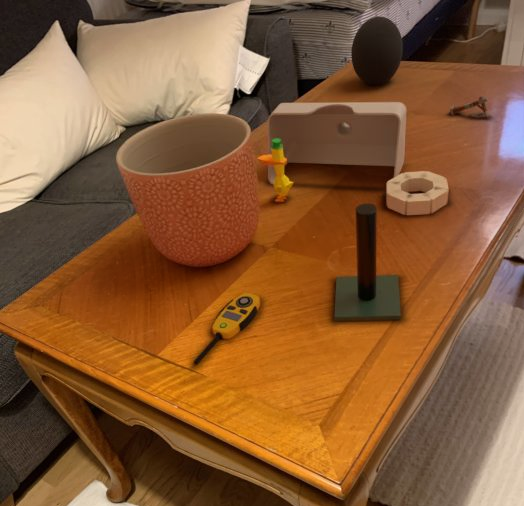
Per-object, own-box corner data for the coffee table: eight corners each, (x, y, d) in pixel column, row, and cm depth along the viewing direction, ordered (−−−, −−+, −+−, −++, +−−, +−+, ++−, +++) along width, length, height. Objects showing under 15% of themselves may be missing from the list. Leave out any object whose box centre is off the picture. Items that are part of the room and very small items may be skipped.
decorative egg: (405, 74, 134) (408, 7, 124) (396, 93, 127) (398, 23, 116) (358, 76, 139) (357, 11, 128) (346, 94, 131) (344, 27, 120)
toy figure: (260, 204, 99) (250, 143, 91) (268, 194, 101) (259, 134, 93) (292, 208, 96) (285, 145, 88) (300, 198, 99) (293, 136, 90)
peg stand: (397, 281, 77) (401, 187, 67) (400, 322, 71) (405, 226, 61) (336, 283, 79) (331, 192, 68) (334, 323, 73) (328, 230, 62)
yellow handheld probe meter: (265, 295, 77) (206, 362, 68) (267, 305, 78) (209, 372, 70) (239, 287, 79) (178, 352, 71) (241, 297, 80) (182, 362, 72)
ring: (429, 180, 96) (430, 165, 94) (459, 207, 88) (461, 191, 86) (374, 195, 95) (375, 180, 93) (400, 224, 88) (401, 208, 85)
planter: (193, 208, 102) (166, 110, 88) (288, 222, 93) (274, 115, 80) (129, 271, 90) (87, 167, 76) (231, 293, 81) (204, 181, 68)
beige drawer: (410, 152, 105) (414, 87, 96) (394, 192, 95) (396, 124, 86) (294, 149, 114) (287, 89, 105) (268, 185, 104) (258, 123, 95)
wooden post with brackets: (490, 117, 108) (484, 96, 106) (455, 128, 114) (449, 107, 112) (494, 114, 109) (488, 92, 107) (459, 124, 115) (453, 104, 113)
